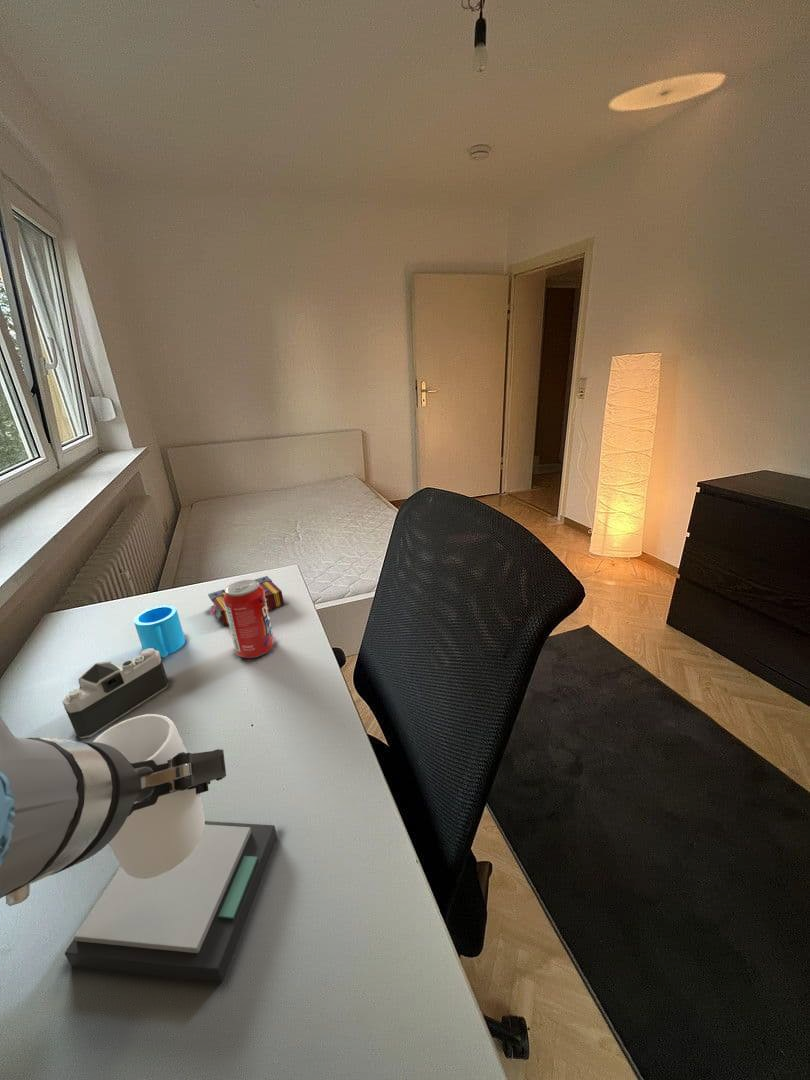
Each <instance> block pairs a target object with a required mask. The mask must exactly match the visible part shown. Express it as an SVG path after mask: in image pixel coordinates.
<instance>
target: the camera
mask: <svg viewBox="0 0 810 1080" xmlns="http://www.w3.org/2000/svg"><path fill="white" fill-rule="evenodd" d="M167 676H168V675H167V673H166V670H165V667H164V663H163V659H162V657H160V654H159V651H156V650H154V648H149V649H146V650H143V649H142V651H140V652H139V655H137V656H135V657H134V658H132V659H128V660H126V661H124V662H123V663H121V665H120V666H119V665H117V664H116V663H114V662H113V661H104V662H97V663H95V664H93V665H92V666H91V667H90V668H89V669H88V670H87V671H86V672H85V673H83V674H82V675H81V676H80V677H79V678H78V684H79V688H75V689H73V690H72V691H69V693H68V694H67V695H66V696H65V697H64V698H63V700H62V701H61V702H62V705H63V707H64V708H63V709H64V710H65V712H66V714H67V716H68V718H69V721H70V724H71V726H72V728H73V731H74V733H75V735H76V736H77V737H78V738H80V739H86V738H91V737H93V736H94V735H96V734H97V733H99V732H100V731H101V730H103V729H105V728H106V727H108V726H110V725H111V724H113V723H114V722H116V721H117V720H118V719H120V718H122V717H124V716H125V715H126V714H128V713H130V712H131V711H132V710H134V709H136V708H138V707H139V706H141V705H142V704H143V703H145V702H147V701H149V700H150V699H151V698H153V697H155V696H156V695H158V694H160V692H162V691H164V690H165V689H167V688H168V685H169V682H170V680H169V678H168V677H167Z"/></svg>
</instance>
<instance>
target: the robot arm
mask: <svg viewBox="0 0 810 1080" xmlns="http://www.w3.org/2000/svg"><path fill="white" fill-rule="evenodd" d="M167 762H168V763H165V764H160V765H157V764H156V763H155V761H153V760H148V761H142V762H137V763H130V762H129V761H128V760H127V759H126V757H125V756H124V755H123V754H122V753H121V752H119V751H118V750H117V749H115V748H113V747H111V746H109V745H107V744H103V743H98V742H93V741H82V740H72V739H67V738H51V737H50V738H48V737H18V736H15V735H14V734H13V733H12V731H11V730H10V729H9V726H8V725H7V724H6V722H5V721H4V719H3V718H2V716H1V715H0V899H2V898H4V897H5V904H6V905H7V906H9V907H11V906H12V907H13V906H15V905H18V904H21V903H23V902H25V901H26V900H27V899H28V898H29V896H30V891H31V884H34V883H36V882H38V881H40V880H43V879H44V878H46V877H49V876H53V875H56V874H58V873H60V872H62V871H65V870H67V869H69V868H72V867H73V866H76V865H78V864H80V863H83V862H84V861H86V860H88V859H90V858H92V857H93V856H94V855H96V854H97V853H99V852H101V850H103V849H104V848H105V847H106V846H107V845H109V844H108V843H109V842H110V841H111V840H112V839H113V838H114V837H115V835H116V834H117V833H118V831H119V830H120V829H121V827H122V826H123V824H124V822H125V821H126V819H127V817H128V816H130V815H131V814H132V812H133V811H135V810H138V809H142V808H145V807H148V806H151V805H154V804H155V803H156V802H157V799H158V797H159V796H163V795H166V794H169V793H173V792H176V791H182V790H186V789H188V790H190V789H193V788H196V794H202V793H205V792H209V791H210V790H209V785H210V784H211V781H217V782H218V781H221V780H223V779H224V778H226V777H227V771H226V761H225V754H224V749H222V748H221V749H220V748H218V749H214V750H208V751H202V752H193V753H191V752H187V753H185V752H182V753H178V755H176V756H174V757H173V758H171V759H168V760H167ZM136 801H137V802H136ZM134 802H136V803H135V804H134Z"/></svg>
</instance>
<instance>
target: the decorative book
mask: <svg viewBox="0 0 810 1080" xmlns="http://www.w3.org/2000/svg"><path fill="white" fill-rule="evenodd" d="M254 580H255V581H257V582H258V583H259V585H260V586H261V587H262V588H263V589H264V593H265V598H266V603H267V608H268V612H271V611H273V610H274V609H275V608H277V607H278V608H279V607H280V606H284V605H285V602H284V597H283V591H282V590H281V589H280V588H279V587H278V585H276V584H275V583H274V582H273V580H272V579H271V577H269V576H268V575H265V576H262V577H259V578H255V579H254ZM207 595H208V598H209V599H210V601H211V602H212V603H213V605H211V606H210V608H211V609H209V613H210V615H211V616H213V615H214V614H215V616H216V619H217V620H219V621H220V622H221V623H222V626H224V627H225V626H227V625H229V622H228V618H227V614H226V609H225V605H224V601H223V597H224V595H225V588H224V589H220V590H217V591H214V592H211V593H208V594H207ZM211 613H212V614H211Z"/></svg>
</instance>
